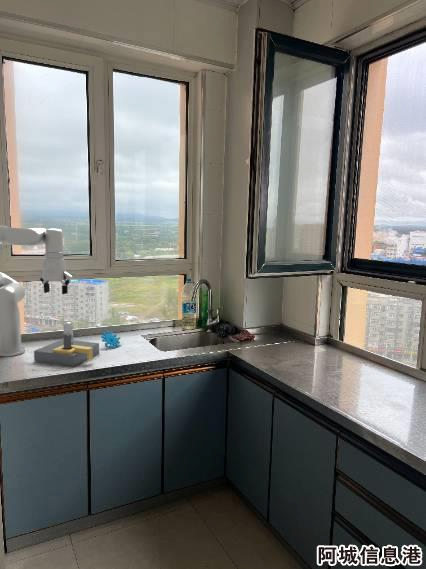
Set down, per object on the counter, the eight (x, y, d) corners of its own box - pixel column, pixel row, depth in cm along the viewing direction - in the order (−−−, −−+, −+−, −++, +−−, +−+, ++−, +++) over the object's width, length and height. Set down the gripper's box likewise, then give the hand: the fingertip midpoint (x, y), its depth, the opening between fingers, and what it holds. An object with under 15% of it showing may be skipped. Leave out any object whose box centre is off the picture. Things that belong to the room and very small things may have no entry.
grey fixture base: (34, 361, 187) (32, 328, 185) (62, 349, 206) (61, 318, 204) (73, 367, 182) (72, 332, 179) (99, 353, 201) (98, 322, 198)
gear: (107, 347, 204) (99, 330, 208) (101, 354, 207) (93, 337, 211) (125, 346, 213) (117, 329, 217) (119, 352, 216) (112, 336, 220)
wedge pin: (62, 361, 188) (61, 335, 186) (67, 359, 191) (66, 333, 190) (68, 362, 187) (68, 335, 186) (73, 360, 190) (72, 334, 189)
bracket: (52, 358, 186) (52, 347, 185) (65, 352, 195) (65, 342, 194) (85, 362, 182) (84, 351, 181) (96, 356, 190) (96, 345, 189)
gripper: (32, 255, 193) (34, 293, 196) (65, 257, 188) (67, 295, 191) (43, 254, 200) (45, 290, 203) (75, 256, 196) (76, 293, 198)
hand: (55, 293), depth 197 cm, fingers open, 9 cm apart
